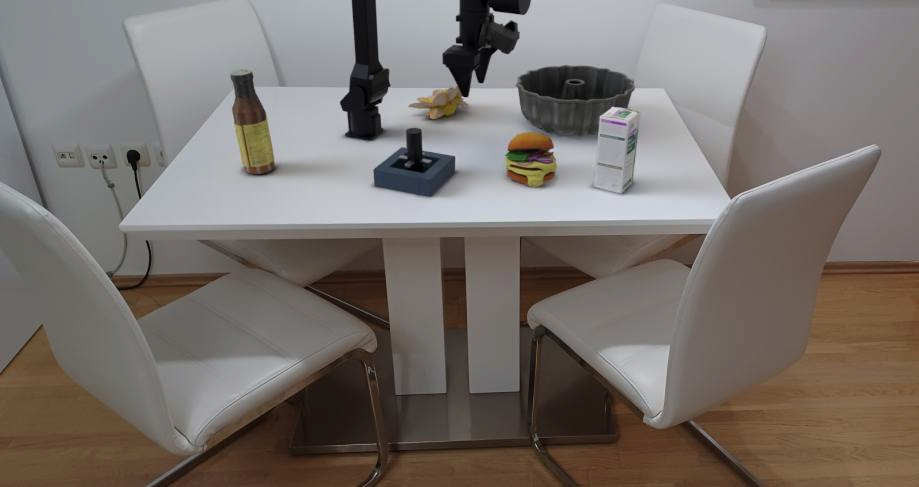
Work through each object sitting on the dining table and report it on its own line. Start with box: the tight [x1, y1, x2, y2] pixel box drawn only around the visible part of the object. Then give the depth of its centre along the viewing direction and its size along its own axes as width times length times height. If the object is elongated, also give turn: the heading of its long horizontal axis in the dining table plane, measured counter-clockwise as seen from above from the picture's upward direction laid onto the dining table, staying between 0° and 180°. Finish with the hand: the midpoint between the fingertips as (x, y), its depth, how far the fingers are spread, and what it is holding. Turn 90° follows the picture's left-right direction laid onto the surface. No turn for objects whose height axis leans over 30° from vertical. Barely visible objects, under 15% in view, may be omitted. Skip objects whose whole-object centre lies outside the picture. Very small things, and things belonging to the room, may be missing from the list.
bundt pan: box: [515, 64, 636, 137], centre depth 163 cm, size 26×26×10 cm
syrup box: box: [593, 107, 641, 194], centre depth 133 cm, size 6×6×14 cm
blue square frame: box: [372, 146, 456, 197], centre depth 139 cm, size 12×12×4 cm
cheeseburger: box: [504, 131, 558, 188], centre depth 139 cm, size 10×11×10 cm
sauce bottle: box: [229, 68, 275, 175], centre depth 139 cm, size 6×6×20 cm
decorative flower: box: [407, 85, 469, 120], centre depth 169 cm, size 15×11×10 cm
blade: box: [398, 127, 432, 173], centre depth 137 cm, size 7×7×10 cm
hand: (473, 89), depth 142 cm, fingers open, 9 cm apart
